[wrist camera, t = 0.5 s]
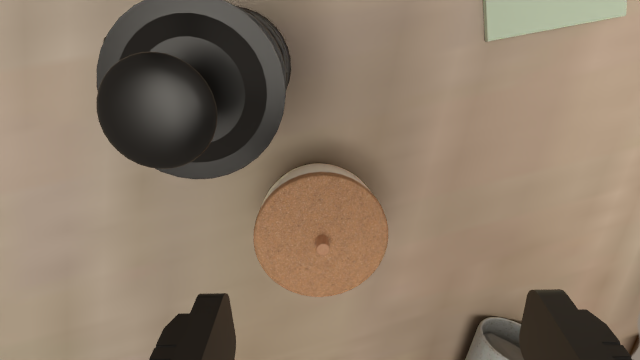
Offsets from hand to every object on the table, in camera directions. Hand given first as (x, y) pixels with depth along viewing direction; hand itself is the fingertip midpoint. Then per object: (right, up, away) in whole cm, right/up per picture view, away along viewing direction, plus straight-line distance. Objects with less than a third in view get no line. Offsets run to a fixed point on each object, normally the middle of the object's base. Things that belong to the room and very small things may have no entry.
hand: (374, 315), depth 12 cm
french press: (-9, +14, +25) cm, 30 cm away
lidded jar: (-2, +2, +30) cm, 30 cm away
